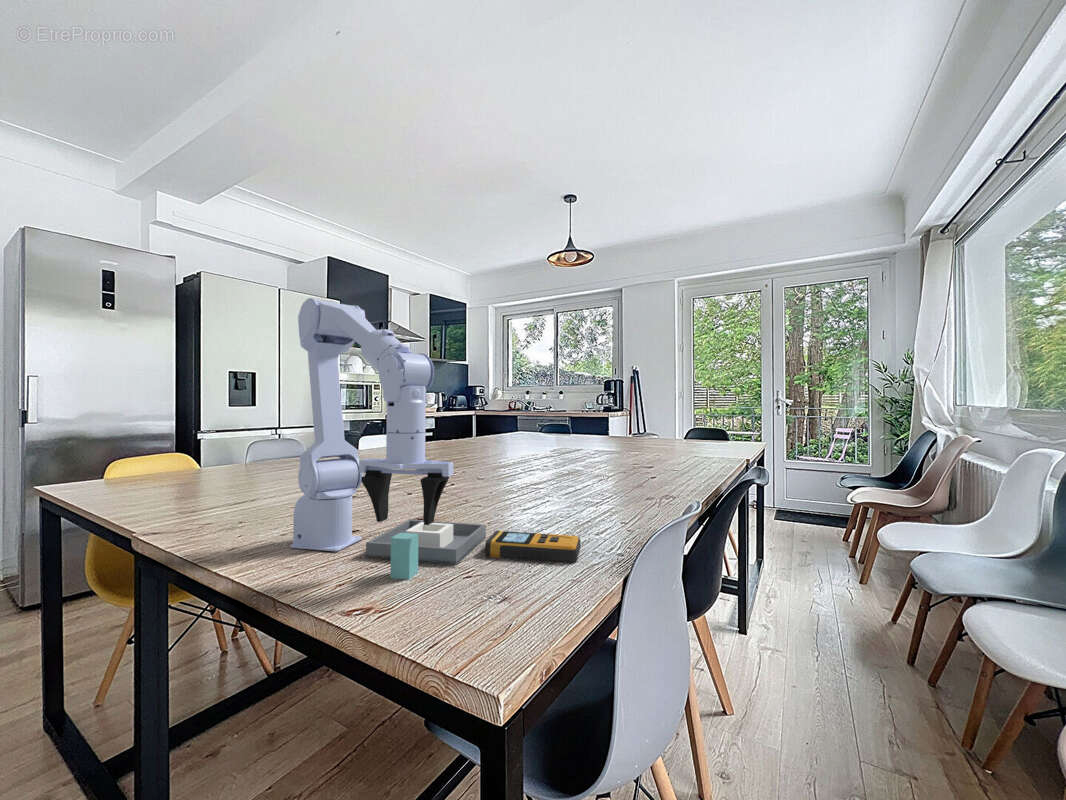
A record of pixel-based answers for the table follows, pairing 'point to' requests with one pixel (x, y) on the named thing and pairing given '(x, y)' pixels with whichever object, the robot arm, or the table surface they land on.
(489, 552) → the electronic device
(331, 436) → the robot arm
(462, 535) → the socket box
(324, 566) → the table surface
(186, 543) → the table surface
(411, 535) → the plug peg
